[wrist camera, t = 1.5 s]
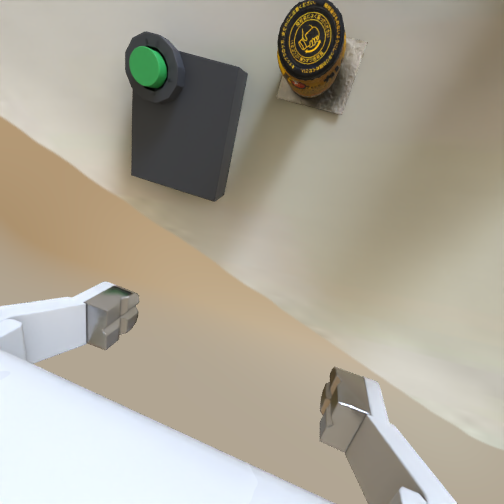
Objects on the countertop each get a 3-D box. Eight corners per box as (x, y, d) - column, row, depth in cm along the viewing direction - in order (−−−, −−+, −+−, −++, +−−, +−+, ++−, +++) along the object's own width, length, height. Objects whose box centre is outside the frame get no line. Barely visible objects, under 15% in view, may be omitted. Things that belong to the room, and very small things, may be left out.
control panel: (153, 40, 33) (122, 25, 28) (249, 66, 32) (236, 55, 27) (147, 170, 41) (123, 177, 36) (224, 194, 40) (210, 205, 35)
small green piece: (139, 46, 29) (129, 42, 27) (168, 54, 28) (160, 50, 27) (138, 83, 30) (128, 81, 29) (166, 91, 30) (158, 90, 29)
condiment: (294, 25, 29) (281, -30, 19) (367, 42, 29) (396, -5, 18) (276, 98, 33) (257, 85, 22) (341, 115, 32) (353, 110, 22)
